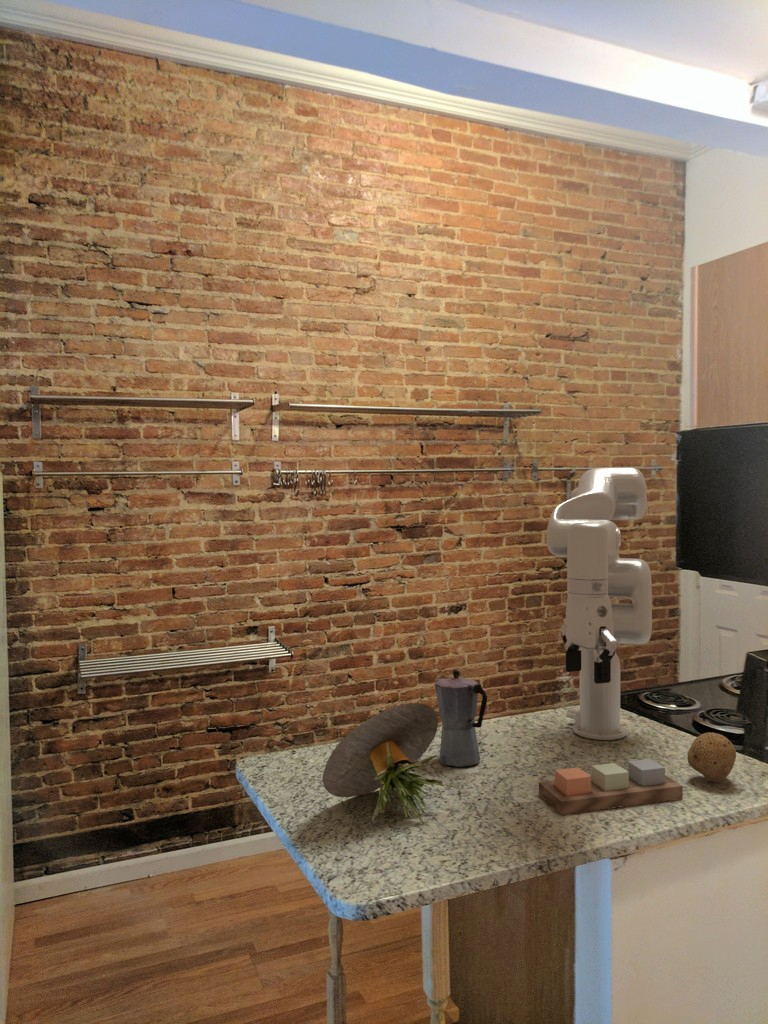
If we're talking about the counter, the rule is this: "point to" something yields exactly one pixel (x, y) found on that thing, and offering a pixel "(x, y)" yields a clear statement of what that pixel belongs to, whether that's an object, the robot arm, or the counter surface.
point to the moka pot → (459, 719)
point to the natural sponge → (712, 756)
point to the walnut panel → (609, 796)
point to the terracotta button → (572, 781)
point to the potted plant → (384, 757)
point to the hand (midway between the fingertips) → (587, 676)
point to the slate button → (646, 772)
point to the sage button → (610, 777)
